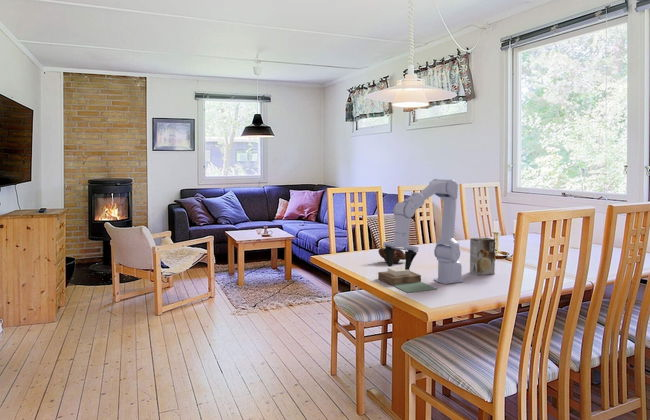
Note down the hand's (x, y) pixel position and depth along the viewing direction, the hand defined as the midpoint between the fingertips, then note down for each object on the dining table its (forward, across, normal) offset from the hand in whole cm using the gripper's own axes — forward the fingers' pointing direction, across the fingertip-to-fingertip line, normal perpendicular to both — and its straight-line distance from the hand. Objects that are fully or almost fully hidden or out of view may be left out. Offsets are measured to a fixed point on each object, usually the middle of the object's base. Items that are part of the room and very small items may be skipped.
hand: (398, 268), depth 181 cm
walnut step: (+8, -10, +19) cm, 23 cm away
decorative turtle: (+6, -31, +49) cm, 58 cm away
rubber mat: (+9, +1, +13) cm, 16 cm away
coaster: (+5, -10, +19) cm, 22 cm away
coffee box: (+4, +13, +54) cm, 56 cm away
